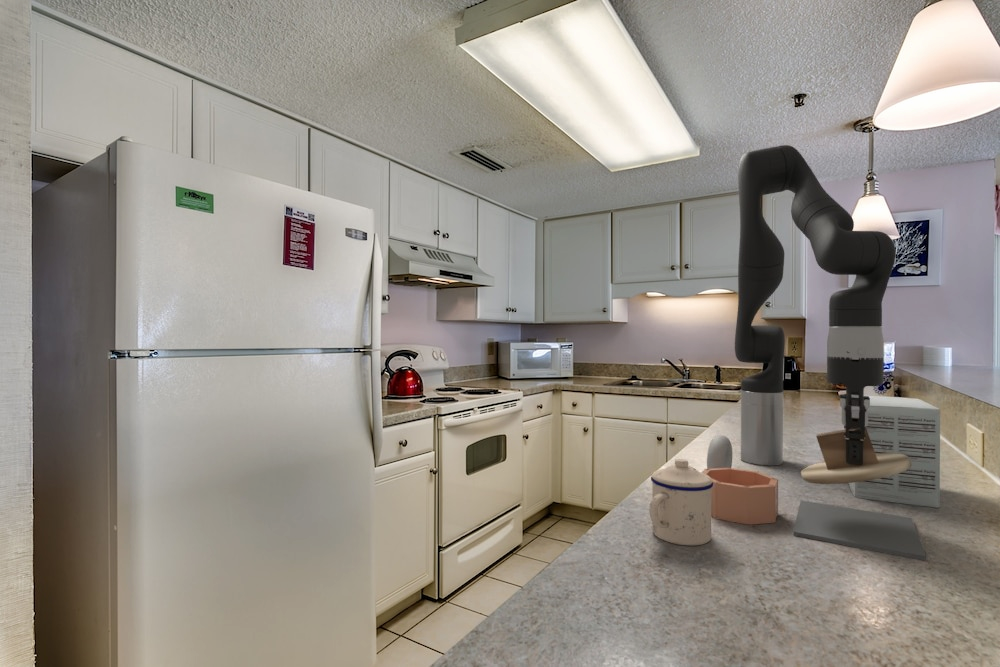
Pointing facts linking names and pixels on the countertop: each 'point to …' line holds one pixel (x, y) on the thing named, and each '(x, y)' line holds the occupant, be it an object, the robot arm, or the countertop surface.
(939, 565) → the countertop surface
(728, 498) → the bowl
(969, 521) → the countertop surface
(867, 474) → the lid
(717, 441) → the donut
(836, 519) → the mat
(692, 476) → the teacup with lid
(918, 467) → the supplement box
